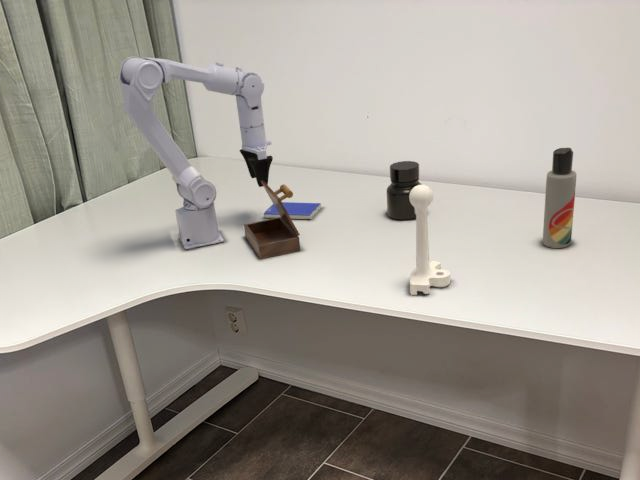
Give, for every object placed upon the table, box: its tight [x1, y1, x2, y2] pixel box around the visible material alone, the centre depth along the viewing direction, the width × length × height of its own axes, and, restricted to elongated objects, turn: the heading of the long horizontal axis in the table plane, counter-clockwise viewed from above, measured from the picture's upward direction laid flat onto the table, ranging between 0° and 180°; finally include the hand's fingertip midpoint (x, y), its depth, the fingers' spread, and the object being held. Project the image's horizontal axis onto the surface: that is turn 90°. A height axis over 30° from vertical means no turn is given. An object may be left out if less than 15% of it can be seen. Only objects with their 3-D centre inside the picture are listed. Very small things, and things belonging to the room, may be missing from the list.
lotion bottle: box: [542, 147, 577, 249], centre depth 159 cm, size 6×6×20 cm
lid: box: [261, 180, 301, 237], centre depth 177 cm, size 10×15×4 cm
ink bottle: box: [386, 160, 423, 221], centre depth 185 cm, size 10×9×12 cm
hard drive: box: [263, 201, 322, 220], centre depth 197 cm, size 2×8×12 cm
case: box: [243, 217, 301, 260], centre depth 180 cm, size 9×15×3 cm, turn 16°
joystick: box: [409, 184, 451, 296], centre depth 149 cm, size 11×8×20 cm
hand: (259, 181), depth 189 cm, fingers open, 7 cm apart
